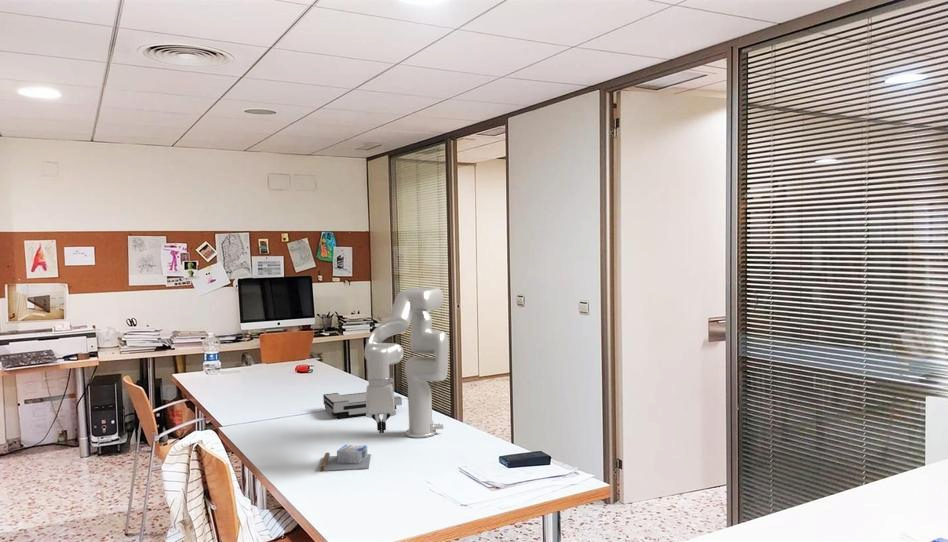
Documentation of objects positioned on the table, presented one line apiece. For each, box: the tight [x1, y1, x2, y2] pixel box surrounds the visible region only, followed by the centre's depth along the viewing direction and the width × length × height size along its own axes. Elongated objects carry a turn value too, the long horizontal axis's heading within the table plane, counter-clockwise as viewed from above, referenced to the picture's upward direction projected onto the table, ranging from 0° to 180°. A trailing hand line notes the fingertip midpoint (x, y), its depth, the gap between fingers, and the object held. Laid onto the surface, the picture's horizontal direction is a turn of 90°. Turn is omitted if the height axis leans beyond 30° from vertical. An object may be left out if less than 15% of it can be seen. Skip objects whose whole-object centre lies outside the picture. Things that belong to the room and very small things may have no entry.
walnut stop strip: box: [319, 452, 331, 473], centre depth 241 cm, size 1×16×2 cm, turn 6°
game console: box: [322, 391, 403, 420], centre depth 320 cm, size 21×32×8 cm, turn 115°
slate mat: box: [323, 453, 372, 472], centre depth 241 cm, size 16×16×1 cm
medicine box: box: [336, 444, 368, 464], centre depth 243 cm, size 8×4×9 cm
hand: (381, 432), depth 244 cm, fingers closed
